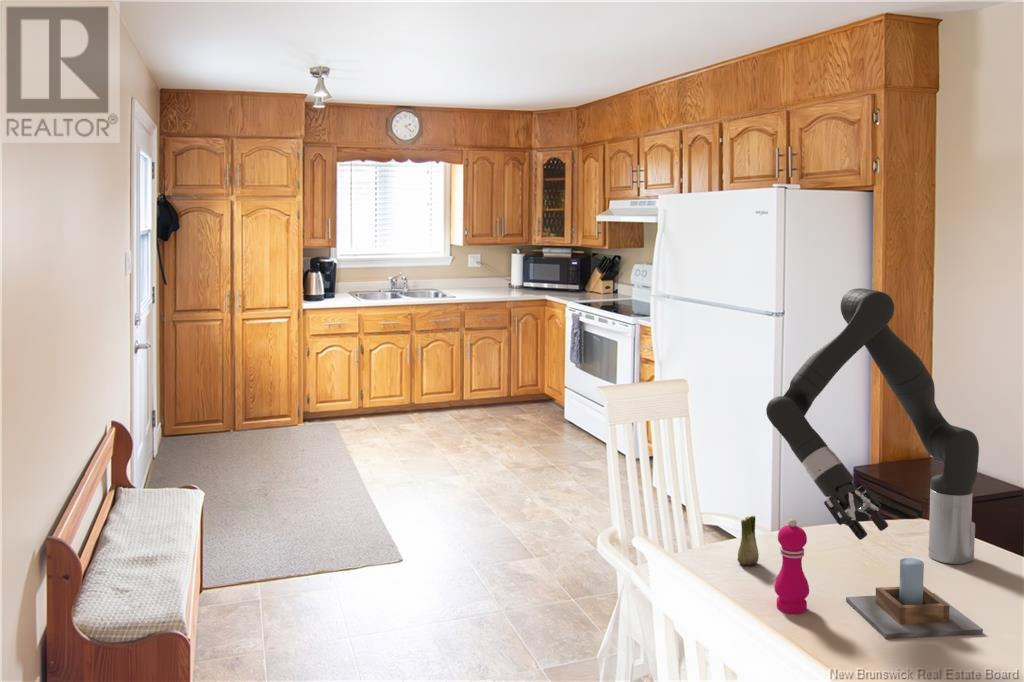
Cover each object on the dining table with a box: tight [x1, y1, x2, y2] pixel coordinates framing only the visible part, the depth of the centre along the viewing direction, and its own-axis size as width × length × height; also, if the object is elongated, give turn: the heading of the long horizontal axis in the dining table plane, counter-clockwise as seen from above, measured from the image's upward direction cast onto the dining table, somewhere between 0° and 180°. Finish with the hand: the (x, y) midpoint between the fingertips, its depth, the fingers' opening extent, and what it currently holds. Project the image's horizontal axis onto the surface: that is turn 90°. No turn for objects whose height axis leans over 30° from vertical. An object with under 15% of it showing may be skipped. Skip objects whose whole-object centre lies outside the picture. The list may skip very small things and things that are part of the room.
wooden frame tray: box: [845, 585, 984, 640], centre depth 179 cm, size 20×18×4 cm
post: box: [899, 557, 925, 605], centre depth 178 cm, size 4×4×11 cm
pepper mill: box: [774, 518, 810, 615], centre depth 184 cm, size 7×7×20 cm
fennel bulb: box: [737, 515, 760, 567], centre depth 210 cm, size 6×5×12 cm
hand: (874, 533), depth 184 cm, fingers open, 8 cm apart
